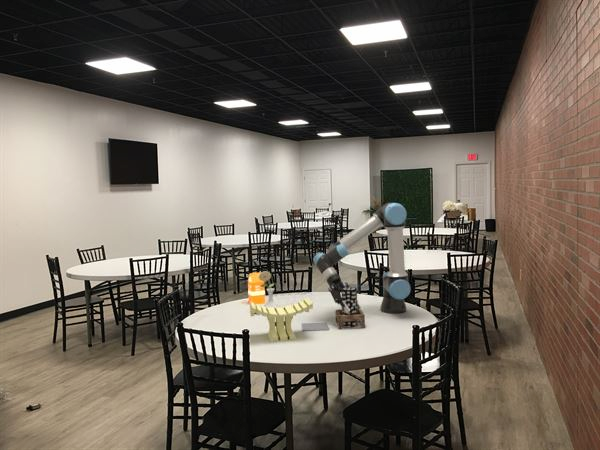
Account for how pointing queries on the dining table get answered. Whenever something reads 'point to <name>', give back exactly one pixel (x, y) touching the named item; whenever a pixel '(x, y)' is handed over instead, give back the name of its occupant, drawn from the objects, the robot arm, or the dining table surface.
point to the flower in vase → (265, 277)
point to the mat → (315, 326)
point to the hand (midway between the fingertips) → (354, 310)
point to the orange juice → (256, 289)
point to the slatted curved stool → (281, 318)
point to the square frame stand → (349, 317)
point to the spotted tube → (350, 304)
